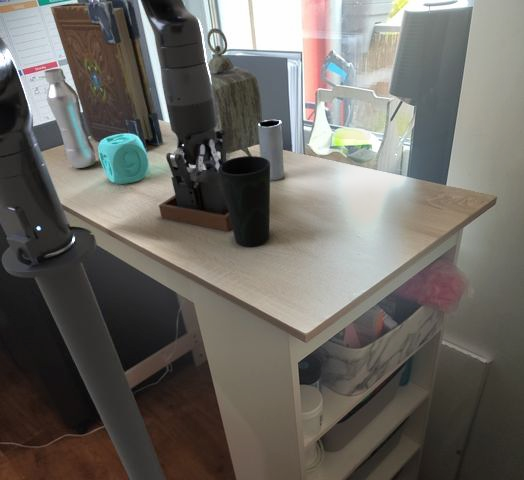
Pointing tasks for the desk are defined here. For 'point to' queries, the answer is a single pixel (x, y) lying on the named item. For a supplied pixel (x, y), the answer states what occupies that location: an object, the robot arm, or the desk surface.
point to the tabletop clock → (234, 100)
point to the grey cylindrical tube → (272, 146)
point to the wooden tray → (194, 216)
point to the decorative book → (108, 68)
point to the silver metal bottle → (69, 120)
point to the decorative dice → (123, 158)
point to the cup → (247, 198)
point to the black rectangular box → (205, 193)
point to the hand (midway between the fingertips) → (207, 200)
